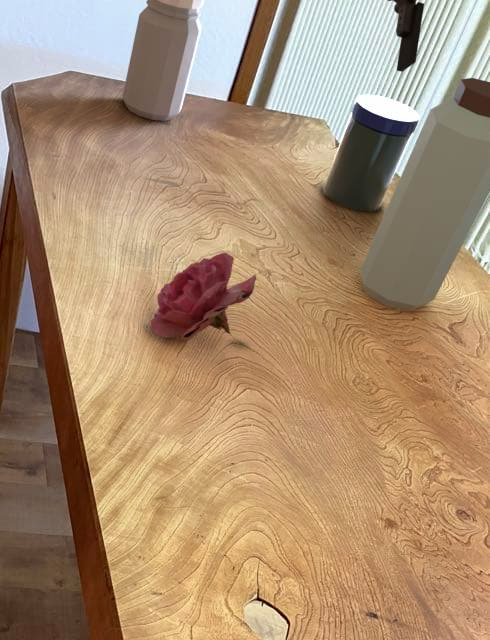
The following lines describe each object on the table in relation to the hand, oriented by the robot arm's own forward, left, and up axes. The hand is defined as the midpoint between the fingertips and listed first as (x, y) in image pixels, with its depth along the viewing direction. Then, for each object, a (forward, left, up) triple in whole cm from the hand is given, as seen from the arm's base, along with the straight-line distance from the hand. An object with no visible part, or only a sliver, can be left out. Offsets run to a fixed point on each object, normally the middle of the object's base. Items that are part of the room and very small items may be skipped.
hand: (456, 80), depth 105 cm
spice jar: (+18, -8, -23) cm, 30 cm away
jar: (+48, +12, -23) cm, 54 cm away
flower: (-13, +37, -23) cm, 45 cm away
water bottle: (-8, +4, -23) cm, 25 cm away
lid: (+18, -8, -10) cm, 22 cm away
